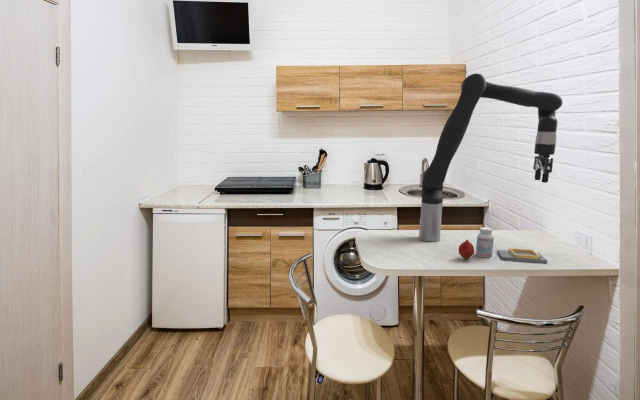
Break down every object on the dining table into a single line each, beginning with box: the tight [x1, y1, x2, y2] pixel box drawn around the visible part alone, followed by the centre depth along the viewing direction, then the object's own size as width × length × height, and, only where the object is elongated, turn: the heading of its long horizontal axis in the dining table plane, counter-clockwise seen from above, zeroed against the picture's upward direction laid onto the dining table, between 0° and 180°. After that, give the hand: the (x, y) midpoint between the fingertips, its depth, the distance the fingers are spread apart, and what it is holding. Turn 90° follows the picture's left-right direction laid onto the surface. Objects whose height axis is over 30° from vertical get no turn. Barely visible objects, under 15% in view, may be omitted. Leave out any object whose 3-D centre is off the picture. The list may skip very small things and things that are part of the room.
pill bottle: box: [475, 226, 495, 258], centre depth 160 cm, size 6×6×11 cm
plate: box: [496, 247, 548, 264], centre depth 159 cm, size 16×10×2 cm, turn 79°
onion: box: [458, 239, 475, 260], centre depth 156 cm, size 6×6×8 cm
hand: (540, 181), depth 171 cm, fingers open, 8 cm apart
